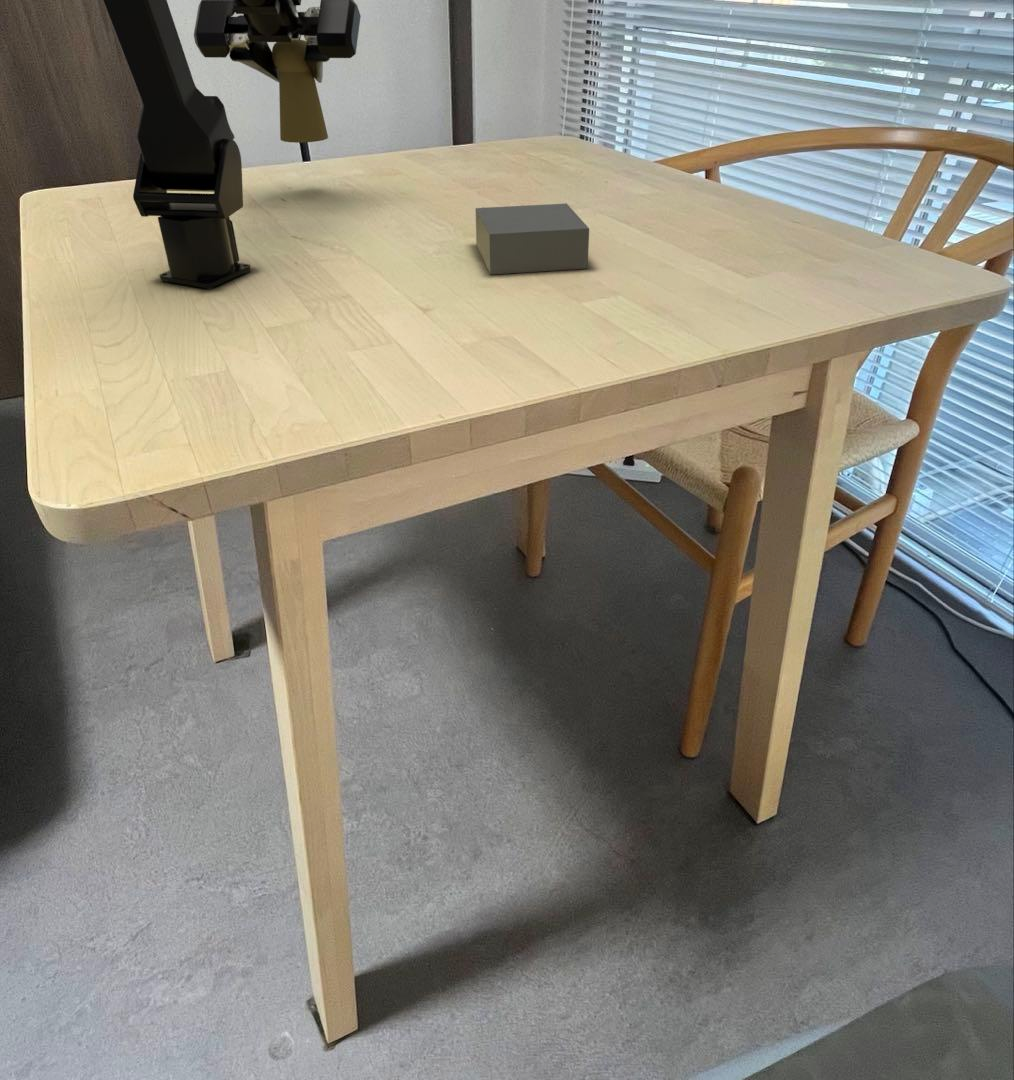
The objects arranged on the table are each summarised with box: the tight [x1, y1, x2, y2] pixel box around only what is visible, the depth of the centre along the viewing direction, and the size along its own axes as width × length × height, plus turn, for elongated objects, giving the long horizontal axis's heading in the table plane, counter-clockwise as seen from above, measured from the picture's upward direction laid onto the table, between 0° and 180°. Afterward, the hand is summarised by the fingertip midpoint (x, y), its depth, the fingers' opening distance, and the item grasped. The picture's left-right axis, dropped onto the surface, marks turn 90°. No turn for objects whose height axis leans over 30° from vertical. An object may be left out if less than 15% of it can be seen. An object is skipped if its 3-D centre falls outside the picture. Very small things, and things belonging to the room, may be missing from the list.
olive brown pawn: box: [271, 39, 329, 144], centre depth 108 cm, size 6×6×11 cm
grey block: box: [475, 203, 590, 275], centre depth 90 cm, size 10×10×4 cm
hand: (300, 79), depth 108 cm, fingers closed on olive brown pawn, 5 cm apart
